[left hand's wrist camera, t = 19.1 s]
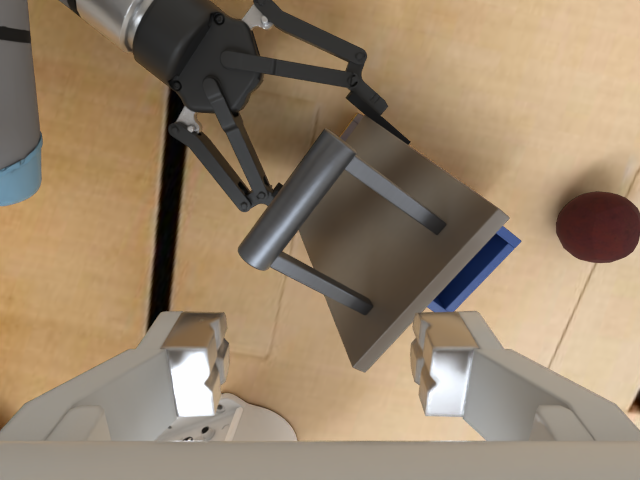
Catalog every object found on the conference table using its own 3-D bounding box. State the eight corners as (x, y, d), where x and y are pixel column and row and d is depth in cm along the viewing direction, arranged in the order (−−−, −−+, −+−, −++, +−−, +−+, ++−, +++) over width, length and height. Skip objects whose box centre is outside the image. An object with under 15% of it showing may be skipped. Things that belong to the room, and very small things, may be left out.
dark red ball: (609, 176, 45) (659, 192, 39) (613, 240, 48) (659, 265, 41) (541, 195, 46) (578, 214, 39) (548, 256, 49) (583, 284, 42)
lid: (510, 218, 18) (372, 101, 14) (365, 373, 20) (215, 309, 16) (372, 121, 32) (288, 52, 29) (299, 217, 35) (213, 165, 31)
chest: (478, 209, 46) (522, 241, 36) (419, 273, 49) (445, 320, 39) (357, 112, 43) (368, 117, 33) (301, 187, 46) (295, 213, 35)
